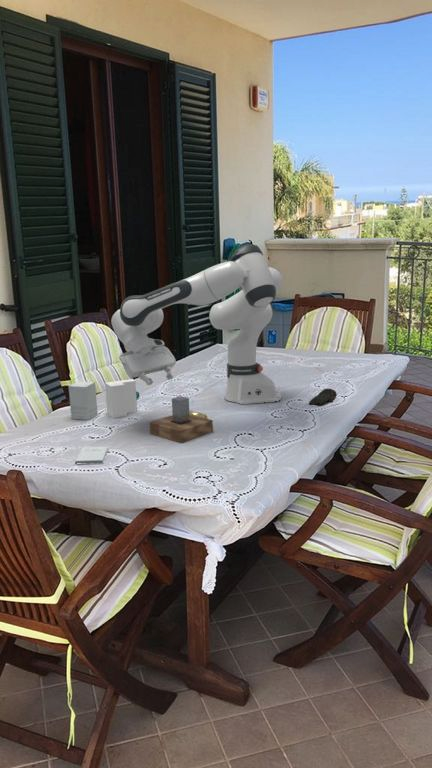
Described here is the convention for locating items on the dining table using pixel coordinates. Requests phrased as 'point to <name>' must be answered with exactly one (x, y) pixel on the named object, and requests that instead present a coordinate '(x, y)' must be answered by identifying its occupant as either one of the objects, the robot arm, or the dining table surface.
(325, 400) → the dark elongated pod
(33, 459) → the dining table surface
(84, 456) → the external hard drive
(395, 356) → the dining table surface
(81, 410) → the supplement box
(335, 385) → the dining table surface
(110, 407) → the corner bracket
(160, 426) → the socket block
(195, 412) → the round bit
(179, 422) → the square bit
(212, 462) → the dining table surface
